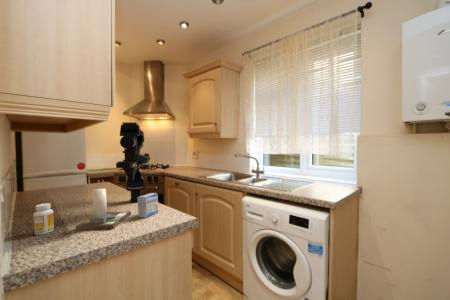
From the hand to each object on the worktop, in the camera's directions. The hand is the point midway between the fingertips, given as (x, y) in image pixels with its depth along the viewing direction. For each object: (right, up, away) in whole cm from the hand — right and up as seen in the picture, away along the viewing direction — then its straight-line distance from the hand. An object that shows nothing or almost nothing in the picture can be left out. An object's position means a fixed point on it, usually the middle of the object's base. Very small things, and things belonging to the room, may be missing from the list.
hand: (131, 181), depth 102 cm
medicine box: (+12, -13, -10) cm, 20 cm away
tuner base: (-3, -13, -18) cm, 22 cm away
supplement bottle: (-20, -14, -26) cm, 36 cm away
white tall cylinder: (-1, -12, -21) cm, 25 cm away
